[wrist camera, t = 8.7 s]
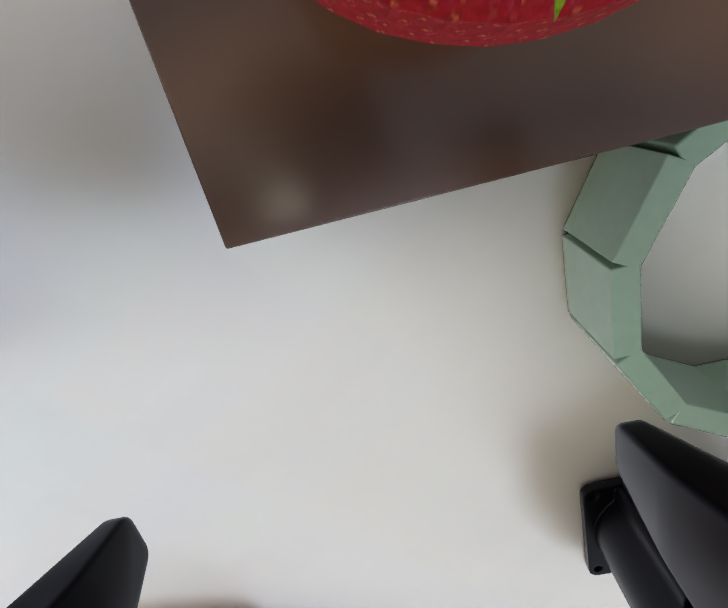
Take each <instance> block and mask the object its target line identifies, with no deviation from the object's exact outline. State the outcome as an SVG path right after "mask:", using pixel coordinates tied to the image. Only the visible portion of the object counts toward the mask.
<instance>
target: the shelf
mask: <svg viewBox="0 0 728 608" xmlns="http://www.w3.org/2000/svg"><path fill="white" fill-rule="evenodd" d="M129 2H130V4H131V7H132V9H133V12H134V14H135V17H136V19H137V22H138V25H139V27H140V30H141V32H142V35H143V37H144V40H145V42H146V45H147V48H148V50H149V53H150V55H151V58H152V60H153V63H154V65H155V68H156V71H157V73H158V76H159V78H160V81H161V83H162V86H163V89H164V91H165V94H166V96H167V99H168V101H169V104H170V106H171V109H172V112H173V114H174V117H175V119H176V122H177V124H178V127H179V129H180V132H181V135H182V137H183V140H184V142H185V145H186V147H187V150H188V152H189V155H190V158H191V160H192V163H193V165H194V168H195V170H196V173H197V175H198V178H199V181H200V183H201V186H202V188H203V191H204V193H205V196H206V198H207V201H208V204H209V206H210V209H211V211H212V214H213V216H214V219H215V221H216V224H217V227H218V229H219V232H220V234H221V237H222V239H223V242H224V245H225V247H226V248H228V249H229V248H233V247H236V246H240V245H244V244H248V243H252V242H256V241H260V240H264V239H268V238H272V237H276V236H279V235H283V234H287V233H291V232H295V231H299V230H303V229H307V228H311V227H315V226H318V225H322V224H326V223H330V222H334V221H338V220H342V219H346V218H350V217H354V216H357V215H361V214H365V213H369V212H373V211H377V210H381V209H385V208H389V207H393V206H397V205H400V204H404V203H408V202H412V201H416V200H420V199H424V198H428V197H432V196H436V195H439V194H443V193H447V192H451V191H455V190H459V189H463V188H467V187H471V186H475V185H478V184H482V183H486V182H490V181H494V180H498V179H502V178H506V177H510V176H514V175H518V174H521V173H525V172H529V171H533V170H537V169H541V168H545V167H549V166H553V165H557V164H560V163H564V162H568V161H572V160H576V159H580V158H584V157H588V156H592V155H596V154H600V153H603V152H607V151H611V150H615V149H619V148H623V147H627V146H631V145H635V144H639V143H642V142H646V141H650V140H654V139H658V138H662V137H666V136H670V135H674V134H678V133H681V132H685V131H689V130H693V129H697V128H701V127H705V126H709V125H713V124H717V123H721V122H724V121H728V0H641V1H639V2H637V3H635V4H633V5H631V6H629V7H627V8H624V9H622V10H620V11H618V12H616V13H614V14H612V15H610V16H608V17H606V18H604V19H602V20H600V21H598V22H595V23H592V24H589V25H586V26H582V27H579V28H576V29H573V30H570V31H566V32H563V33H560V34H557V35H553V36H550V37H547V38H544V39H540V40H533V41H526V42H518V43H511V44H504V45H497V46H489V47H476V46H459V45H443V44H429V43H424V42H420V41H415V40H410V39H405V38H401V37H396V36H391V35H386V34H381V33H378V32H375V31H373V30H371V29H369V28H367V27H364V26H362V25H360V24H358V23H355V22H353V21H351V20H349V19H347V18H344V17H342V16H340V15H338V14H335V13H333V12H331V11H329V10H328V9H326V8H325V7H323V6H322V5H321V4H319V3H318V2H316V1H315V0H129Z"/></svg>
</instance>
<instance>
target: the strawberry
mask: <svg viewBox="0 0 728 608" xmlns="http://www.w3.org/2000/svg"><path fill="white" fill-rule="evenodd" d="M315 1H316V2H318V3H319V4H321V5H322V6H323V7H325V8H326V9H328V10H329V11H331V12H333V13H335V14H338V15H340V16H342V17H344V18H347V19H349V20H351V21H353V22H355V23H358V24H360V25H362V26H364V27H367V28H369V29H371V30H373V31H375V32H378V33H381V34H386V35H391V36H396V37H401V38H405V39H410V40H415V41H420V42H424V43H429V44H443V45H459V46H476V47H489V46H497V45H504V44H511V43H518V42H526V41H533V40H540V39H544V38H547V37H550V36H553V35H557V34H560V33H563V32H566V31H570V30H573V29H576V28H579V27H582V26H586V25H589V24H592V23H595V22H598V21H600V20H602V19H604V18H606V17H608V16H610V15H612V14H614V13H616V12H618V11H620V10H622V9H624V8H627V7H629V6H631V5H633V4H635V3H637V2H639V1H641V0H315Z"/></svg>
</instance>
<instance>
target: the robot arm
mask: <svg viewBox="0 0 728 608" xmlns="http://www.w3.org/2000/svg"><path fill="white" fill-rule="evenodd" d="M615 446H616V464H617V468H618V470H619V473H620V475H621V477H622V478H617V479H612V480H607V481H602V482H597V483H592V484H588V485H585V486H584V487H582V489H581V490H580V501H581V512H582V523H583V534H584V546H585V557H586V565H587V567H588V569H589V571H590V573H591V574H594V575H600V574H606V573H611V572H612V574H613V576H614V577H615V579H616V581H617V583H618V585H619V587H620V589H621V591H622V593H623V594H624V596H625V598H626V600H627V602H628V604H629V606H630V608H728V463H727V462H725V461H723V460H721V459H719V458H717V457H715V456H713V455H711V454H709V453H707V452H705V451H703V450H701V449H699V448H697V447H695V446H693V445H691V444H689V443H687V442H685V441H683V440H681V439H679V438H677V437H675V436H673V435H671V434H669V433H667V432H665V431H663V430H661V429H659V428H657V427H655V426H653V425H651V424H649V423H647V422H645V421H642V420H635V421H630V422H624V423H620V424H618V425H617V426H616V429H615ZM590 494H591V495H590ZM147 562H148V549H147V545H146V543H145V542H144V540H143V538H142V537H141V535H140V533H139V531H138V530H137V528H136V526H135V525H134V523H133V521H132V520H131V519H129V518H128V517H121V518H116V519H111V520H107V521H105V522H103V523H102V524H101V525H100V526H99V527H98V528H96V529H95V530H94V531H93V532H92V533H91V534H90V535H88V536H87V537H86V538H85V539H84V540H83V541H82V542H81V543H79V544H78V545H77V546H76V547H75V548H74V549H73V550H72V551H70V552H69V553H68V554H67V555H66V556H65V557H64V558H62V559H61V560H60V561H59V562H58V563H57V564H56V565H55V566H53V567H52V568H51V569H50V570H49V571H48V572H47V573H45V574H44V575H43V576H42V577H41V578H40V579H39V580H38V581H36V582H35V583H34V584H33V585H32V586H31V587H30V588H28V589H27V590H26V591H25V592H24V593H23V594H22V595H21V596H19V597H18V598H17V599H16V600H15V601H14V602H13V603H12V604H10V605H9V606H8V607H7V608H137V607H138V603H139V598H140V594H141V589H142V584H143V580H144V575H145V571H146V566H147Z"/></svg>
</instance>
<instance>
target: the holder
mask: <svg viewBox="0 0 728 608" xmlns="http://www.w3.org/2000/svg"><path fill="white" fill-rule="evenodd" d="M727 141H728V121H724V122H721V123H717V124H713V125H709V126H705V127H701V128H697V129H693V130H689V131H685V132H681V133H678V134H674V135H670V136H666V137H662V138H658V139H654V140H650V141H646V142H642V143H639V144H635V145H631V146H627V147H623V148H619V149H615V150H611V151H607V152H603V153H600V154H597V157H596V159H595V161H594V163H593V165H592V167H591V170H590V172H589V174H588V176H587V178H586V180H585V183H584V185H583V187H582V189H581V191H580V193H579V196H578V198H577V200H576V202H575V204H574V206H573V209H572V211H571V213H570V215H569V217H568V219H567V222H566V224H565V226H564V230H566V231H567V232H568V233H570V234H565V235H562V242H563V253H564V265H565V277H566V289H567V301H568V311H569V312H570V313H571V314H572V316H571V318H572V319H573V320H574V321H575V322H576V324H577V325H578V326H579V327H580V328H581V329H582V330H583V332H584V333H585V334H586V335H587V336H588V337H589V338H590V339H591V341H592V342H593V343H594V344H595V345H596V346H597V347H598V348H599V350H600V351H601V352H602V353H603V354H604V355H605V356H606V357H607V359H608V360H609V361H610V362H611V363H612V364H613V365H614V366H615V368H616V369H617V370H618V371H619V372H620V373H621V374H622V375H623V376H624V377H625V378H626V379H627V380H628V382H629V383H630V384H631V385H632V386H633V387H634V388H635V389H636V390H637V391H638V392H639V393H640V394H641V396H642V397H643V398H644V399H645V400H646V401H647V402H648V403H649V404H650V405H651V406H652V407H653V408H654V409H655V411H656V412H657V413H658V414H659V415H660V416H661V417H662V418H663V419H664V420H668V421H669V422H670V423H671V424H675V425H679V426H684V427H688V428H692V429H696V430H701V431H705V432H709V433H713V434H718V435H722V436H726V437H728V359H726V360H721V361H716V362H712V363H707V364H702V365H698V366H690V365H686V364H683V363H679V362H675V361H671V360H667V359H663V358H659V357H655V356H651V355H647V354H645V353H644V352H643V350H642V329H641V265H642V263H643V261H644V259H645V257H646V256H647V254H648V252H649V250H650V248H651V246H652V245H653V243H654V241H655V239H656V237H657V235H658V234H659V232H660V230H661V228H662V226H663V224H664V223H665V221H666V219H667V217H668V215H669V213H670V212H671V210H672V208H673V206H674V204H675V202H676V201H677V199H678V197H679V195H680V193H681V192H682V190H683V188H684V186H685V184H686V182H687V181H688V179H689V177H690V175H691V173H692V171H693V170H694V168H695V166H696V165H698V164H699V163H700V162H702V161H703V160H704V159H705V158H707V157H708V156H709V155H710V154H712V153H713V152H714V151H715V150H717V149H718V148H719V147H720V146H722V145H723V144H724V143H725V142H727Z"/></svg>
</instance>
